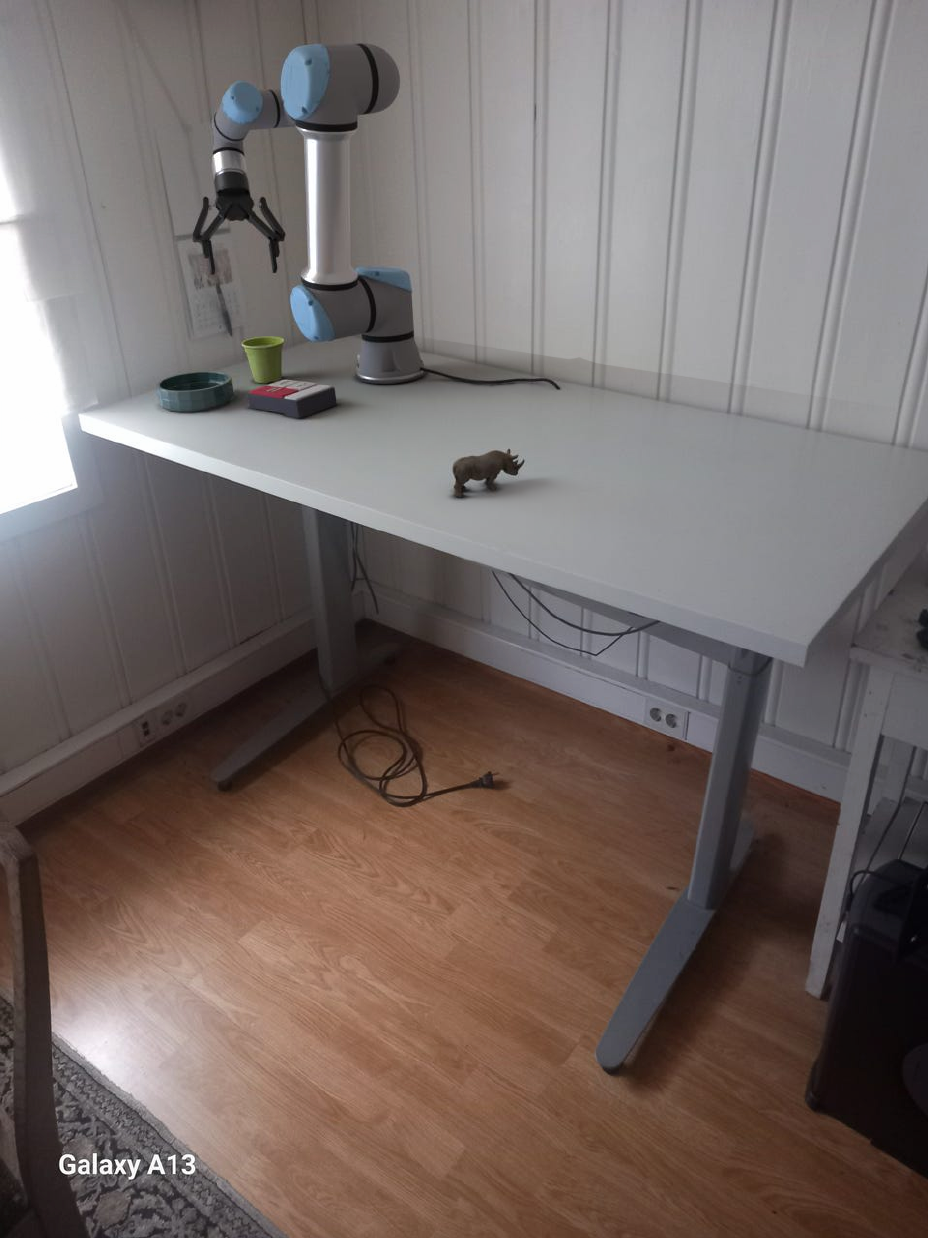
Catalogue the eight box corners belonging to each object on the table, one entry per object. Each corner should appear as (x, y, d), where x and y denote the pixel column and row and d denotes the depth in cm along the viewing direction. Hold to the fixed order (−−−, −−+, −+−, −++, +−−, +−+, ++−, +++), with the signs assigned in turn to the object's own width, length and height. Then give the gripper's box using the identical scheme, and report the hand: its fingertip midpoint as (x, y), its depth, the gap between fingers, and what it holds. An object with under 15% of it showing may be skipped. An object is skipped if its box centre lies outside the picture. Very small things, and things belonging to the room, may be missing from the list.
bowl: (249, 398, 206) (246, 377, 204) (191, 417, 196) (187, 395, 193) (203, 387, 214) (200, 367, 212) (145, 405, 204) (141, 384, 202)
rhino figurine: (532, 481, 157) (532, 446, 155) (458, 500, 152) (456, 463, 149) (519, 474, 161) (518, 439, 158) (446, 491, 155) (444, 456, 152)
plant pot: (296, 375, 220) (291, 337, 216) (276, 387, 213) (271, 347, 208) (260, 373, 223) (255, 335, 219) (239, 384, 215) (233, 345, 211)
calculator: (284, 377, 205) (335, 383, 197) (287, 397, 207) (338, 404, 199) (245, 390, 198) (296, 397, 189) (249, 411, 200) (299, 418, 191)
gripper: (284, 187, 222) (298, 276, 221) (172, 186, 214) (186, 279, 213) (288, 169, 215) (302, 262, 214) (172, 168, 207) (186, 264, 206)
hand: (244, 271), depth 214 cm, fingers open, 13 cm apart
